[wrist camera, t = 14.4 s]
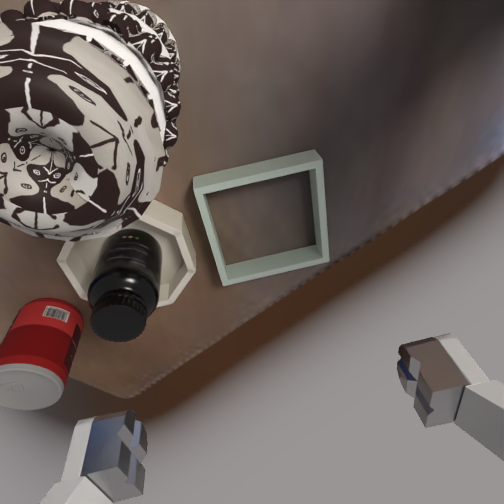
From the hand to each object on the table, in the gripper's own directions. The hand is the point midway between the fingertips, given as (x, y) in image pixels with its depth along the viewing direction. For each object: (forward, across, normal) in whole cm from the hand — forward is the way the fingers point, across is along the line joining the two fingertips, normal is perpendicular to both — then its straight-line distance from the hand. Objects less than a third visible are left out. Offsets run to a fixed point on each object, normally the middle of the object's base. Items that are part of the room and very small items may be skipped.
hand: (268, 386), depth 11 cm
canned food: (+31, +27, +21) cm, 46 cm away
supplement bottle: (+30, +13, +13) cm, 35 cm away
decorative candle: (+31, +6, -6) cm, 32 cm away
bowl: (+31, +13, +13) cm, 36 cm away
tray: (+31, -3, +13) cm, 34 cm away
